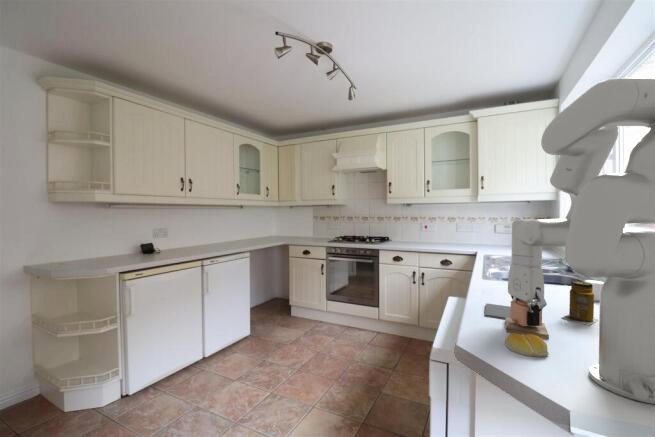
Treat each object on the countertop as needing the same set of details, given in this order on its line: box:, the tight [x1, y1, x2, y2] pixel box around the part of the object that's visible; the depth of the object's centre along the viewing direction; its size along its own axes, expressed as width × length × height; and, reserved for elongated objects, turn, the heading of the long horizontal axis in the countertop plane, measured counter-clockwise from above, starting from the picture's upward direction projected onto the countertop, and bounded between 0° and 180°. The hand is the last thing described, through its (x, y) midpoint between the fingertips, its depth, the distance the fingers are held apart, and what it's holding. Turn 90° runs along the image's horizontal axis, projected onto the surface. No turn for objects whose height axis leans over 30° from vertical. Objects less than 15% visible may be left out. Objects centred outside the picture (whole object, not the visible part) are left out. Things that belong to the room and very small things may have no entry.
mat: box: [484, 303, 511, 320], centre depth 102 cm, size 14×14×1 cm
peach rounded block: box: [510, 300, 543, 326], centre depth 88 cm, size 7×6×6 cm
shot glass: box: [583, 279, 605, 302], centre depth 120 cm, size 7×7×7 cm
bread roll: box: [504, 333, 550, 358], centre depth 75 cm, size 8×9×4 cm
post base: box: [505, 318, 550, 340], centre depth 88 cm, size 10×10×1 cm
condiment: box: [561, 280, 599, 326], centre depth 97 cm, size 7×8×12 cm
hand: (525, 320), depth 88 cm, fingers closed on peach rounded block, 5 cm apart
